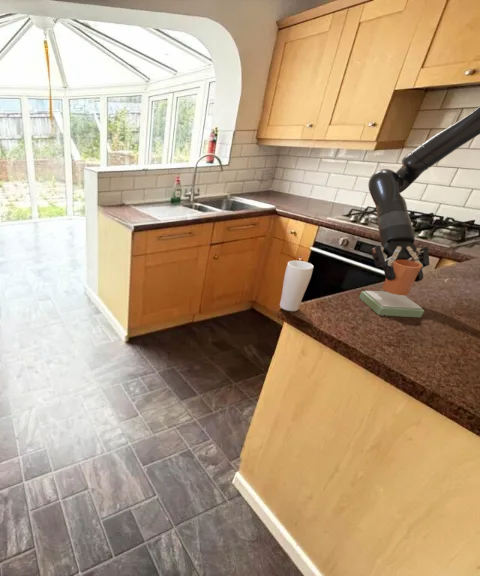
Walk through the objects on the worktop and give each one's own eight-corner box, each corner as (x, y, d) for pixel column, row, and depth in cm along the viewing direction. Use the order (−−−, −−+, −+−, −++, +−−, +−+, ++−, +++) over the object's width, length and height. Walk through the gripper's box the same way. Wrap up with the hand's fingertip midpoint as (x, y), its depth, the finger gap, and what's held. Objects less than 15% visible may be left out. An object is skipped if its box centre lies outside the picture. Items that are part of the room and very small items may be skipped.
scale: (397, 299, 104) (401, 291, 103) (421, 317, 95) (426, 309, 93) (358, 297, 106) (362, 289, 105) (378, 315, 96) (382, 306, 95)
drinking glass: (278, 300, 106) (289, 258, 99) (302, 306, 103) (315, 262, 96) (274, 309, 101) (286, 266, 94) (299, 315, 98) (312, 271, 91)
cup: (400, 286, 100) (412, 259, 96) (413, 295, 94) (427, 268, 90) (377, 285, 101) (388, 258, 97) (389, 294, 96) (402, 267, 91)
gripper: (377, 222, 97) (386, 274, 92) (432, 223, 94) (444, 277, 89) (361, 234, 104) (368, 283, 99) (412, 235, 101) (422, 285, 97)
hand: (404, 280), depth 94 cm, fingers closed on cup, 6 cm apart
